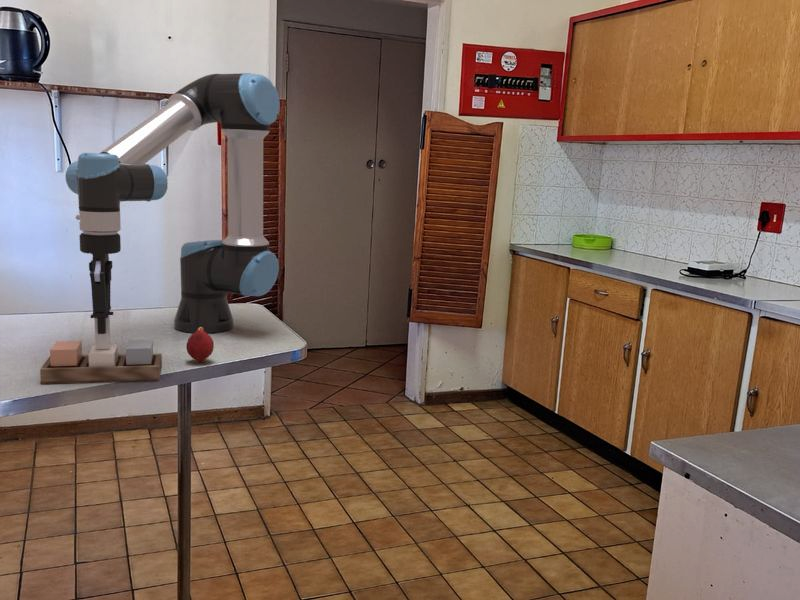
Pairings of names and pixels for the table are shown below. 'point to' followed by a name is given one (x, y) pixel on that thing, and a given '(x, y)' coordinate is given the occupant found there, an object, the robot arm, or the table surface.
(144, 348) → the slate key
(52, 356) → the terracotta key
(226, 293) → the robot arm
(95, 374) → the wooden compartment tray
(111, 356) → the cream key
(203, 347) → the onion
